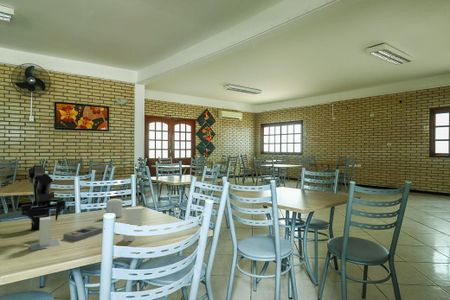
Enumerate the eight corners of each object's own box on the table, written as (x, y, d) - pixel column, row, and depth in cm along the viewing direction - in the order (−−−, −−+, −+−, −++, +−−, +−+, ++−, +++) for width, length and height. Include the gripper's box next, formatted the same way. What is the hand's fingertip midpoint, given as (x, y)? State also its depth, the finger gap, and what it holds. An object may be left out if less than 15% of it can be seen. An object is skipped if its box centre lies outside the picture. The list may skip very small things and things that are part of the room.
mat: (30, 251, 120) (31, 249, 120) (29, 244, 128) (29, 243, 128) (59, 246, 127) (59, 245, 127) (56, 240, 135) (56, 238, 135)
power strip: (76, 242, 132) (76, 235, 132) (63, 240, 136) (63, 232, 136) (102, 233, 147) (102, 227, 147) (89, 231, 151) (90, 225, 151)
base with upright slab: (127, 231, 151) (127, 210, 152) (124, 227, 159) (125, 207, 160) (143, 230, 156) (144, 209, 156) (140, 226, 164) (141, 206, 164)
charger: (40, 246, 124) (40, 220, 124) (39, 243, 128) (39, 217, 128) (50, 244, 127) (51, 218, 127) (49, 241, 131) (49, 216, 131)
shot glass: (124, 238, 141) (124, 224, 141) (137, 237, 141) (138, 224, 141) (120, 242, 134) (120, 228, 134) (134, 242, 134) (135, 228, 135)
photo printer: (121, 215, 188) (121, 197, 189) (122, 217, 185) (123, 198, 185) (105, 217, 183) (105, 199, 183) (106, 218, 179) (106, 200, 179)
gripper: (20, 189, 132) (21, 218, 125) (64, 185, 144) (68, 211, 136) (21, 200, 139) (22, 228, 132) (63, 196, 151) (66, 221, 143)
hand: (45, 222), depth 135 cm, fingers open, 9 cm apart
